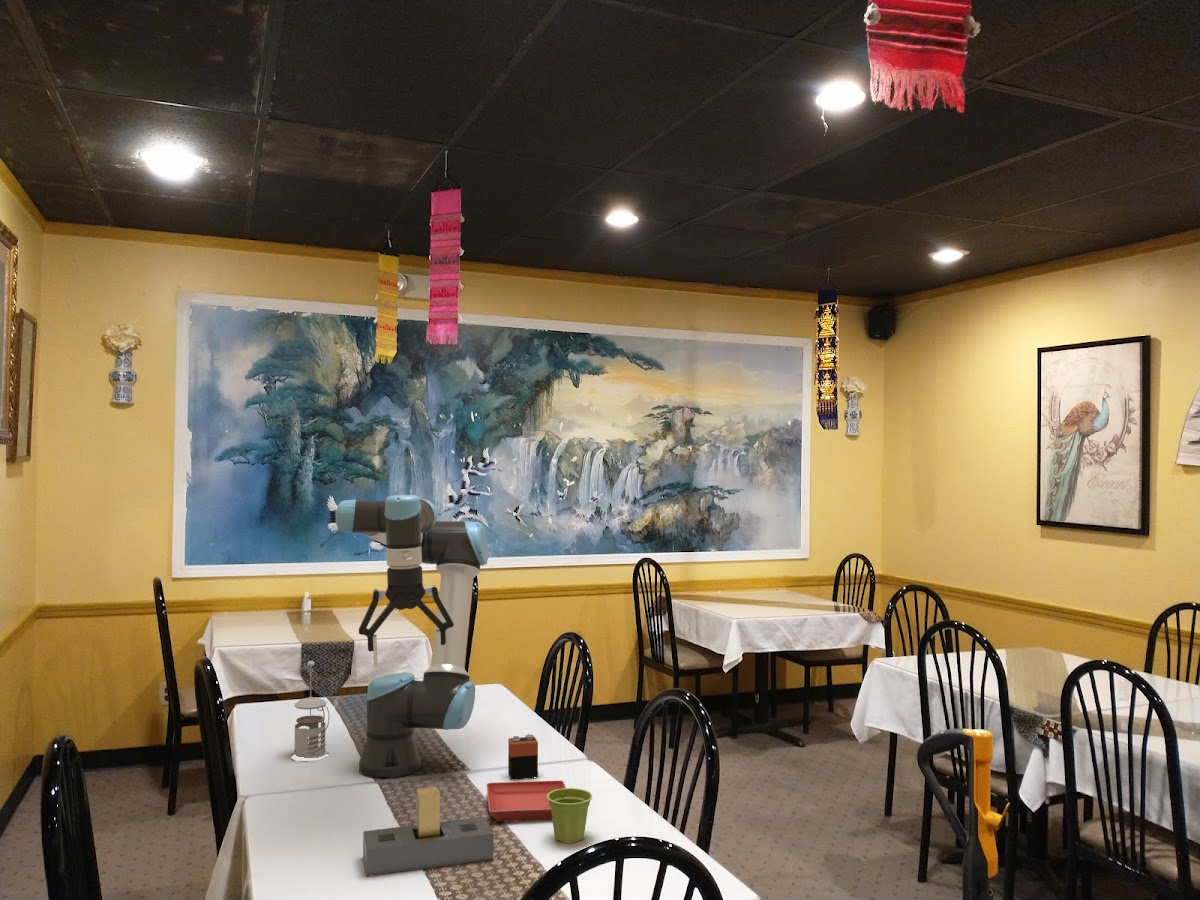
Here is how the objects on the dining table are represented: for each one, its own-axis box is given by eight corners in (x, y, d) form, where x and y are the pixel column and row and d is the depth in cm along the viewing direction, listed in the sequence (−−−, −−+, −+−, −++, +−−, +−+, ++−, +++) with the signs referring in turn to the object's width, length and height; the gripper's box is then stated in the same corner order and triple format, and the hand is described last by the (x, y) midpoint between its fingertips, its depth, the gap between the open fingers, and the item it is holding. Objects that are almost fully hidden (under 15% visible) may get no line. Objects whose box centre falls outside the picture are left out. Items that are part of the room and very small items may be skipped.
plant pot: (545, 829, 194) (546, 788, 195) (590, 828, 195) (590, 786, 195) (547, 847, 185) (547, 804, 185) (593, 846, 186) (594, 803, 186)
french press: (282, 759, 239) (283, 662, 240) (311, 746, 250) (312, 654, 251) (312, 763, 236) (313, 666, 236) (341, 750, 246) (342, 657, 247)
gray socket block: (366, 876, 172) (367, 849, 172) (363, 856, 180) (363, 830, 180) (493, 859, 179) (493, 833, 179) (483, 841, 188) (484, 816, 188)
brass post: (418, 858, 177) (419, 795, 177) (416, 850, 181) (416, 789, 181) (439, 855, 179) (440, 793, 179) (436, 847, 182) (436, 786, 183)
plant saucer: (563, 793, 217) (563, 779, 217) (572, 822, 199) (572, 807, 199) (486, 796, 214) (486, 782, 214) (488, 827, 196) (488, 811, 196)
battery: (538, 778, 226) (538, 737, 226) (510, 780, 224) (510, 739, 224) (534, 772, 230) (535, 732, 230) (507, 774, 228) (508, 734, 229)
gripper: (345, 572, 194) (348, 672, 194) (463, 565, 200) (466, 661, 201) (345, 567, 201) (348, 663, 202) (460, 560, 207) (463, 653, 208)
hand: (407, 662), depth 201 cm, fingers open, 13 cm apart
